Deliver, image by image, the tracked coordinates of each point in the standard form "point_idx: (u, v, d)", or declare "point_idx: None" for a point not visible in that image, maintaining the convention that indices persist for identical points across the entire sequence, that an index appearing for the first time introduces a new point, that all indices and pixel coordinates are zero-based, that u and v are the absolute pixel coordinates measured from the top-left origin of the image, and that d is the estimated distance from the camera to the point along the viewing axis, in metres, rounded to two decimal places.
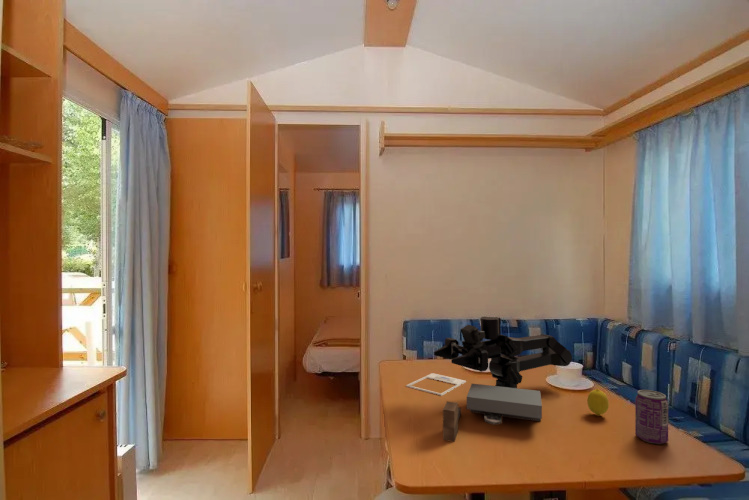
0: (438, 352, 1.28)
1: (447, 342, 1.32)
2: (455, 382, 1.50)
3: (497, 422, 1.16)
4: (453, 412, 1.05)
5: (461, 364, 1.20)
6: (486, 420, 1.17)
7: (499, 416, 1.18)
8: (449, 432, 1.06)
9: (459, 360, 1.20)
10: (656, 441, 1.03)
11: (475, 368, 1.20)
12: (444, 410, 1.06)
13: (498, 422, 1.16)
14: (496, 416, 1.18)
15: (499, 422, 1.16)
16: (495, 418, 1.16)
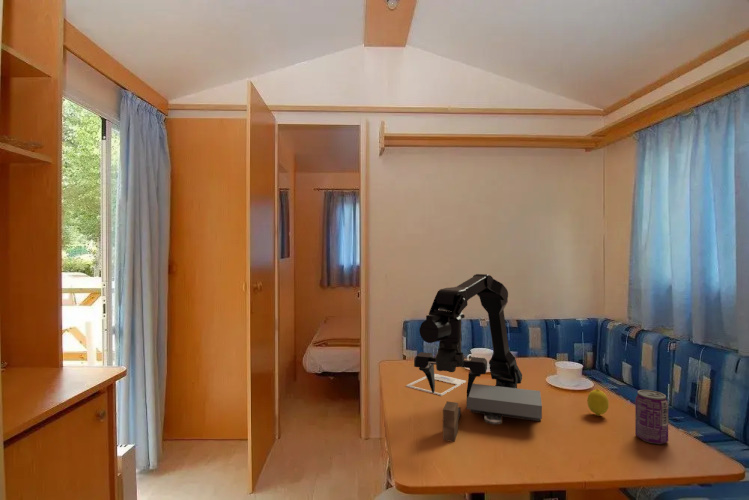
0: (433, 387, 1.10)
1: (425, 371, 1.08)
2: (455, 382, 1.50)
3: (497, 422, 1.16)
4: (453, 412, 1.05)
5: None
6: (486, 420, 1.17)
7: (499, 416, 1.18)
8: (449, 432, 1.06)
9: (470, 389, 1.07)
10: (656, 441, 1.03)
11: None
12: (444, 410, 1.06)
13: (498, 422, 1.16)
14: (496, 416, 1.18)
15: (499, 422, 1.16)
16: (495, 418, 1.16)
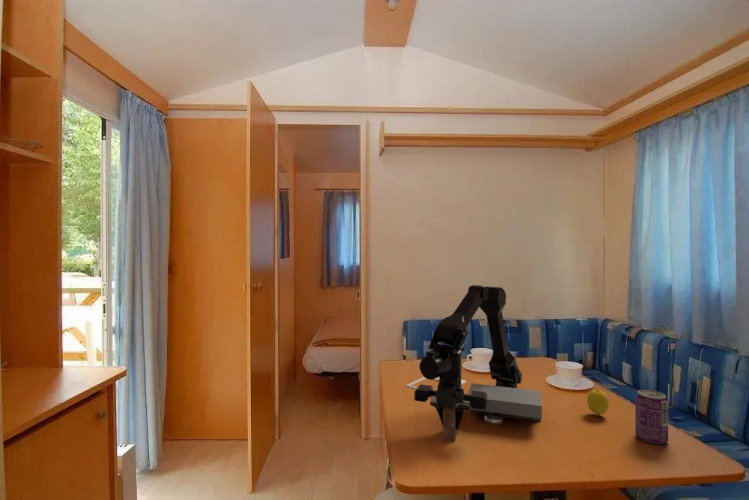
0: None
1: (436, 406, 1.07)
2: None
3: (497, 422, 1.16)
4: (453, 412, 1.05)
5: None
6: (486, 420, 1.17)
7: (499, 416, 1.18)
8: (449, 432, 1.06)
9: (459, 421, 1.08)
10: (656, 441, 1.03)
11: None
12: (444, 410, 1.06)
13: (498, 422, 1.16)
14: (496, 416, 1.18)
15: (499, 422, 1.16)
16: (495, 418, 1.16)
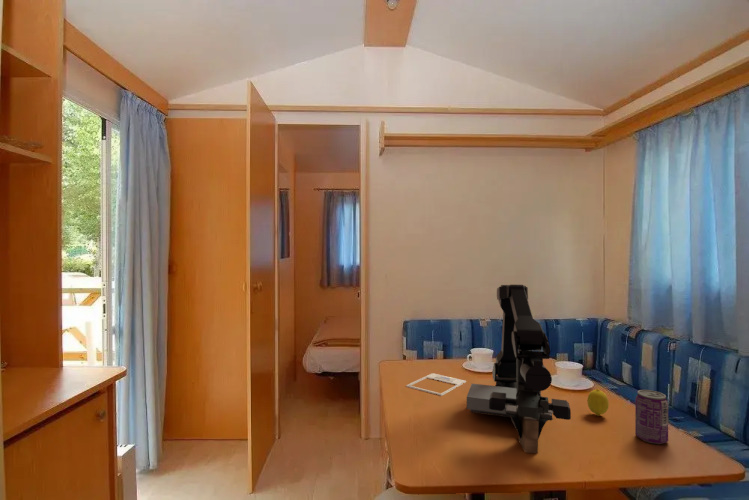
0: None
1: (513, 416, 1.01)
2: (455, 382, 1.50)
3: None
4: (537, 422, 0.99)
5: None
6: None
7: None
8: (532, 443, 0.99)
9: (540, 432, 1.01)
10: (656, 441, 1.03)
11: None
12: (527, 421, 0.99)
13: None
14: None
15: None
16: None
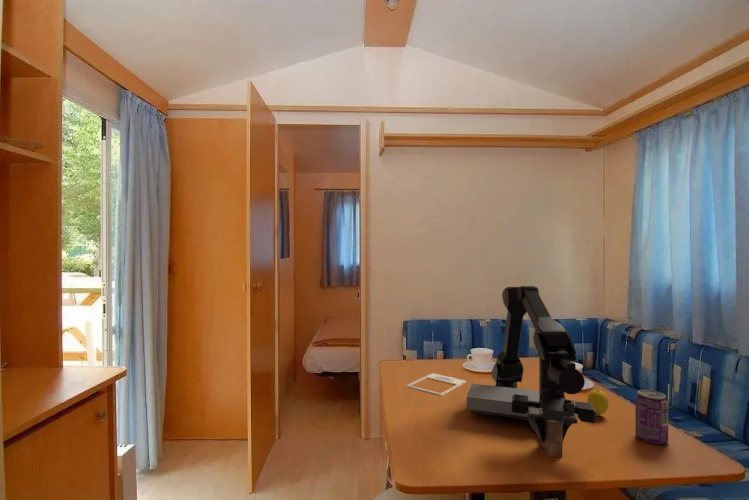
0: (543, 435, 1.00)
1: (536, 419, 0.99)
2: (455, 382, 1.50)
3: None
4: (561, 425, 0.97)
5: None
6: None
7: None
8: (557, 447, 0.97)
9: None
10: (656, 441, 1.03)
11: None
12: (551, 424, 0.97)
13: None
14: None
15: None
16: None
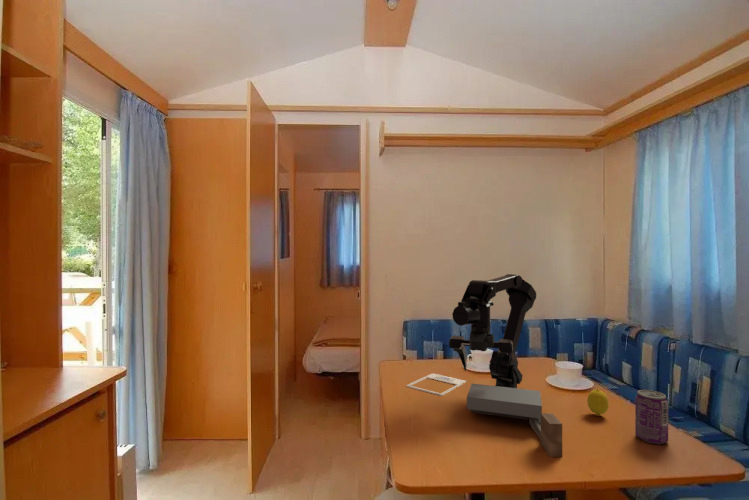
0: (466, 365, 1.26)
1: (459, 351, 1.25)
2: (455, 382, 1.50)
3: None
4: (561, 425, 0.97)
5: None
6: (540, 426, 1.13)
7: None
8: (556, 447, 0.98)
9: (499, 366, 1.23)
10: (656, 441, 1.03)
11: None
12: (551, 424, 0.98)
13: None
14: None
15: None
16: None
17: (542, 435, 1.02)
